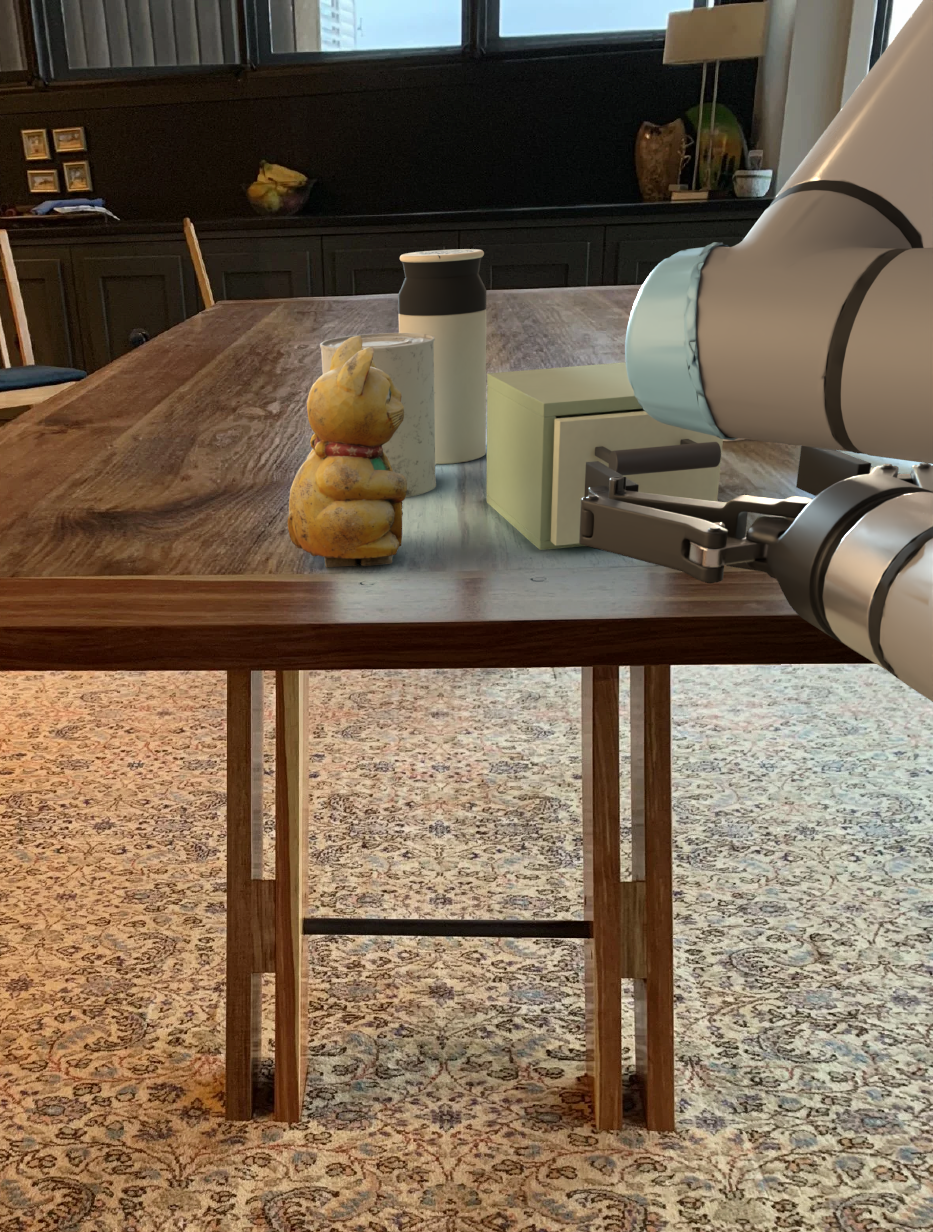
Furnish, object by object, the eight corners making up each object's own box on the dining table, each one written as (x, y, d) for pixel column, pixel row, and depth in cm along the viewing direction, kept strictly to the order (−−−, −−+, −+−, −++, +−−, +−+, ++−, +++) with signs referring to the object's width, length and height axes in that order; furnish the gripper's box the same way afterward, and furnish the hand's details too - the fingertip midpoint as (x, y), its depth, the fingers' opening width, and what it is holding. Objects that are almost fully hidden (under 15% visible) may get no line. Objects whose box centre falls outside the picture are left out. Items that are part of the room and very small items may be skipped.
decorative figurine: (421, 574, 83) (416, 342, 76) (304, 588, 81) (288, 354, 74) (386, 538, 91) (379, 327, 84) (279, 550, 90) (263, 337, 83)
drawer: (744, 548, 80) (759, 419, 76) (578, 565, 79) (583, 434, 75) (642, 488, 97) (650, 379, 93) (503, 501, 95) (504, 391, 91)
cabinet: (711, 537, 87) (725, 388, 82) (539, 553, 85) (543, 403, 80) (636, 491, 100) (644, 360, 95) (486, 505, 98) (487, 373, 94)
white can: (430, 502, 100) (428, 346, 94) (318, 503, 102) (309, 350, 96) (442, 476, 108) (440, 331, 103) (338, 477, 110) (331, 335, 104)
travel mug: (458, 446, 120) (457, 248, 111) (501, 459, 113) (504, 250, 105) (387, 457, 117) (381, 255, 108) (428, 471, 110) (424, 257, 102)
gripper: (624, 680, 55) (498, 554, 73) (1126, 624, 57) (881, 517, 76) (635, 516, 51) (499, 428, 70) (1169, 465, 54) (901, 393, 72)
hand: (698, 474), depth 73 cm, fingers open, 13 cm apart
